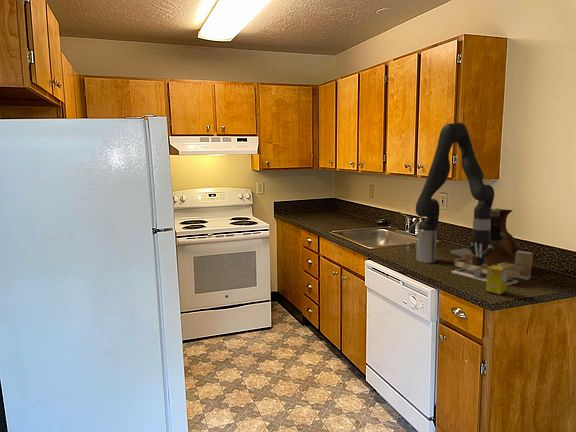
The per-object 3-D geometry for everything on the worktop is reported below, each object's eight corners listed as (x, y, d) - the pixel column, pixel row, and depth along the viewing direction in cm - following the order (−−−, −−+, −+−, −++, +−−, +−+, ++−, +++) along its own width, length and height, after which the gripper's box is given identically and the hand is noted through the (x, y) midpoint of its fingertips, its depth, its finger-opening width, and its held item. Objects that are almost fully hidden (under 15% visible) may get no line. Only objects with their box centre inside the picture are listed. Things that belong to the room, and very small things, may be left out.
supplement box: (492, 289, 183) (493, 264, 181) (506, 292, 178) (508, 267, 177) (485, 292, 179) (486, 267, 177) (500, 296, 175) (501, 269, 173)
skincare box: (513, 277, 199) (514, 251, 197) (516, 275, 202) (518, 250, 200) (528, 280, 195) (530, 253, 193) (531, 278, 198) (533, 252, 196)
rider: (462, 264, 207) (462, 254, 206) (467, 262, 209) (467, 252, 209) (471, 266, 203) (472, 256, 202) (476, 265, 205) (477, 254, 204)
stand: (451, 272, 209) (451, 264, 208) (464, 269, 215) (464, 261, 214) (505, 286, 187) (505, 277, 186) (518, 282, 192) (518, 273, 192)
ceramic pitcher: (521, 265, 220) (525, 207, 215) (516, 275, 203) (520, 212, 199) (480, 260, 231) (483, 204, 226) (472, 269, 214) (475, 209, 210)
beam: (454, 265, 209) (455, 254, 208) (463, 263, 213) (463, 252, 212) (506, 279, 188) (507, 266, 187) (515, 276, 191) (516, 264, 190)
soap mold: (465, 252, 252) (465, 246, 252) (489, 260, 233) (489, 254, 233) (449, 253, 250) (450, 247, 249) (472, 261, 231) (473, 255, 230)
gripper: (463, 227, 203) (462, 263, 205) (490, 231, 192) (488, 269, 194) (473, 225, 207) (471, 260, 209) (499, 229, 196) (497, 266, 198)
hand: (479, 264), depth 202 cm, fingers closed
